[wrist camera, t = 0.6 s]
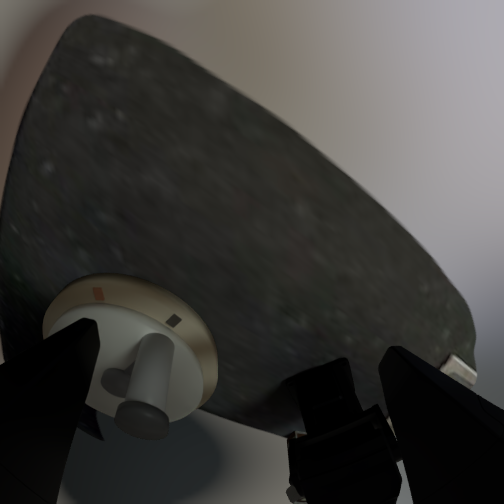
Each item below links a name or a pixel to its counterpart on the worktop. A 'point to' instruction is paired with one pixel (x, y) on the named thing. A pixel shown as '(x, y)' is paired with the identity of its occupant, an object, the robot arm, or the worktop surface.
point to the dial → (139, 370)
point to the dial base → (147, 302)
